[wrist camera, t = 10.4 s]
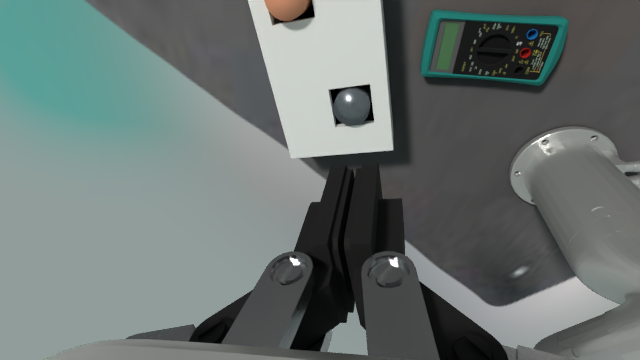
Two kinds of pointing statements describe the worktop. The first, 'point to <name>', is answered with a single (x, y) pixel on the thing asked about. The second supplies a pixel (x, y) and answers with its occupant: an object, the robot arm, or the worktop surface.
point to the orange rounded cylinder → (287, 8)
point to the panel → (327, 74)
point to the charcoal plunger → (352, 104)
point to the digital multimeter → (492, 46)
